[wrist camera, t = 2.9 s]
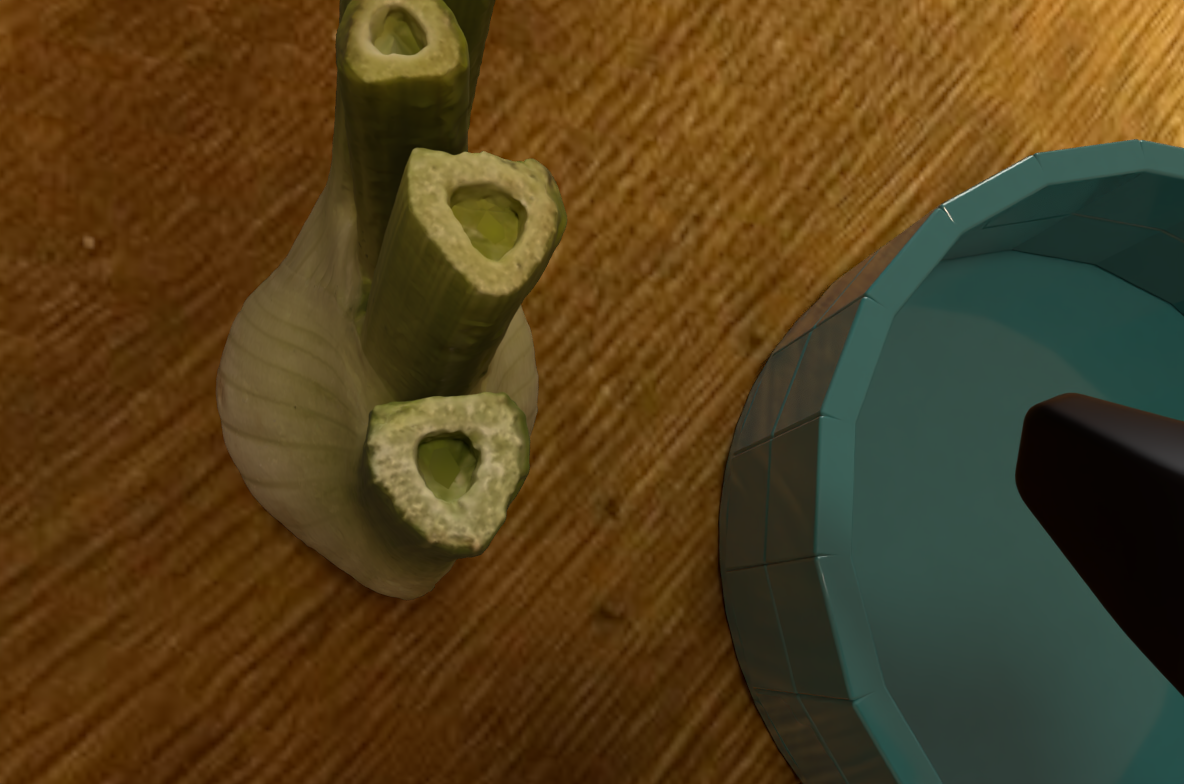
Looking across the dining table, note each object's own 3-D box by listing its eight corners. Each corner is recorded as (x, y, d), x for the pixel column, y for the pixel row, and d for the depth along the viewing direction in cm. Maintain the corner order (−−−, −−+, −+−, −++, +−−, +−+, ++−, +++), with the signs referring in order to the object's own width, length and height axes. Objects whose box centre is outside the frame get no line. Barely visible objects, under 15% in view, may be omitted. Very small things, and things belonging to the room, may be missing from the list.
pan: (1348, 932, 21) (1601, 1007, 17) (694, 900, 19) (796, 979, 15) (1305, 286, 24) (1510, 211, 20) (738, 185, 22) (834, 76, 18)
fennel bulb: (436, 629, 19) (571, 621, 7) (164, 512, 18) (-141, 310, 7) (565, 334, 20) (841, -48, 9) (319, 219, 20) (280, -341, 8)
